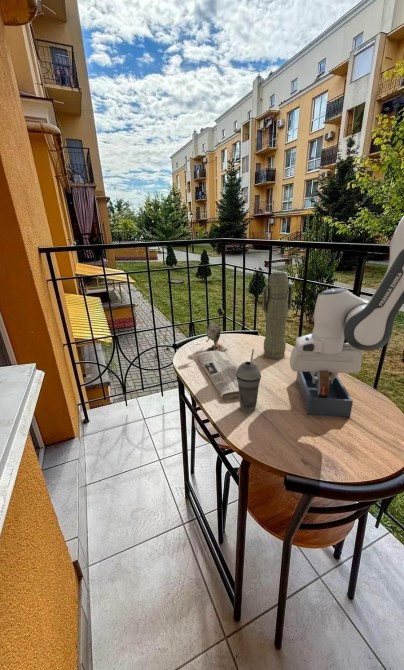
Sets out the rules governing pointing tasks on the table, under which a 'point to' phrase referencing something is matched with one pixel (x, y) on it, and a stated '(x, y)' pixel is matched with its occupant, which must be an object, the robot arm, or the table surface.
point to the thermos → (276, 314)
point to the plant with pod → (215, 333)
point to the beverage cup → (248, 385)
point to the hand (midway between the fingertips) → (322, 383)
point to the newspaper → (220, 372)
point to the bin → (331, 406)
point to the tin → (323, 384)
